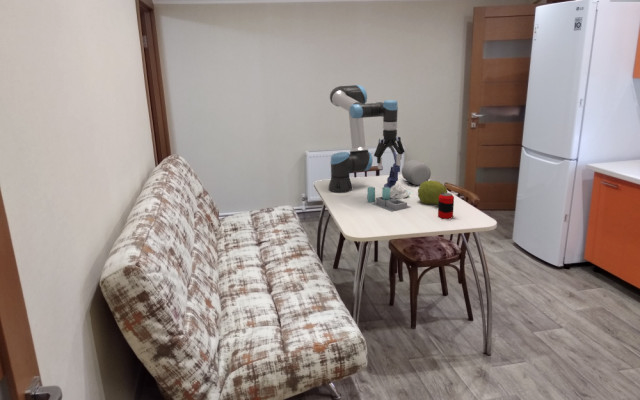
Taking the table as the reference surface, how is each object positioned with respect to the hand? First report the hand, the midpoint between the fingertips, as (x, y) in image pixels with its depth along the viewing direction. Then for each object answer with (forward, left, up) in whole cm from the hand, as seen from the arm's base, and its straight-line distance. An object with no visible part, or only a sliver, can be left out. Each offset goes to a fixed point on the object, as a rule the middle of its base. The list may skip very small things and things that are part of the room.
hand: (389, 167), depth 262 cm
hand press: (-24, +22, -21) cm, 39 cm away
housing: (+7, -4, -21) cm, 22 cm away
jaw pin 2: (+2, -4, -20) cm, 20 cm away
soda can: (+36, +8, -21) cm, 42 cm away
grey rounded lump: (-29, +42, -21) cm, 56 cm away
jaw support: (-4, +11, -21) cm, 25 cm away
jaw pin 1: (-6, -8, -21) cm, 23 cm away
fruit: (+16, +18, -21) cm, 32 cm away
